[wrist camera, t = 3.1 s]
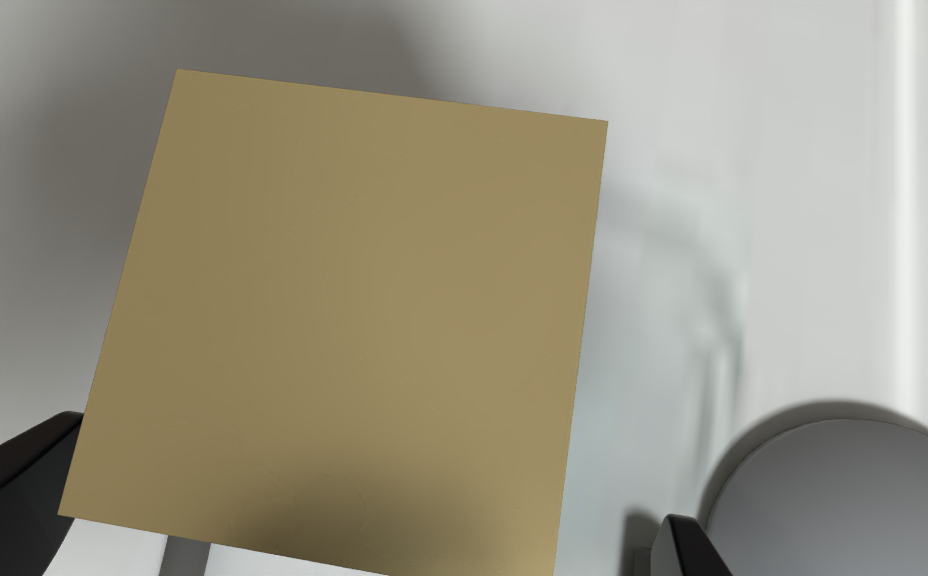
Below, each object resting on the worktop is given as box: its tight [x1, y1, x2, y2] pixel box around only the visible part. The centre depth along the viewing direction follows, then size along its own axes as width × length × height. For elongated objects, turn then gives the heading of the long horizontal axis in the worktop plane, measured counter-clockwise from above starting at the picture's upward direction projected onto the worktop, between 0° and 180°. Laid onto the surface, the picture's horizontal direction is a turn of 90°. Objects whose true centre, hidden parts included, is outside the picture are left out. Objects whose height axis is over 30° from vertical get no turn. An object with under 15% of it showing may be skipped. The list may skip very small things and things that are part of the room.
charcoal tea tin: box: [57, 69, 608, 576], centre depth 13 cm, size 5×5×13 cm
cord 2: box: [159, 535, 211, 576], centre depth 18 cm, size 7×1×1 cm, turn 171°
